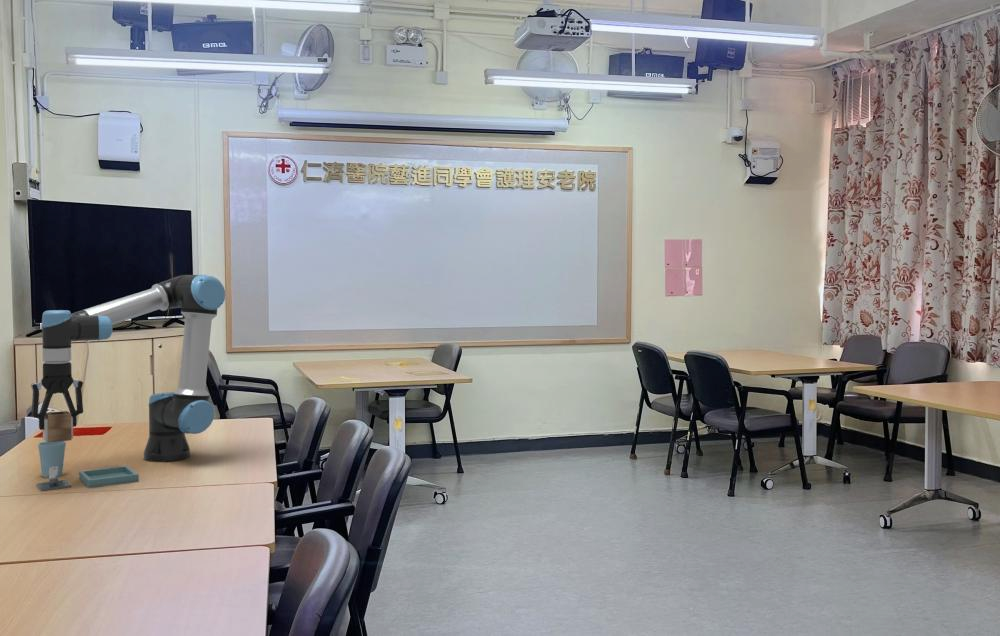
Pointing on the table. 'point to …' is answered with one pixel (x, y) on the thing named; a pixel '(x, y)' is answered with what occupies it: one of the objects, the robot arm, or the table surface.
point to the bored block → (59, 426)
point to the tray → (108, 476)
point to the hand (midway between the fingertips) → (58, 438)
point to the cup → (51, 456)
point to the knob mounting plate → (53, 481)
